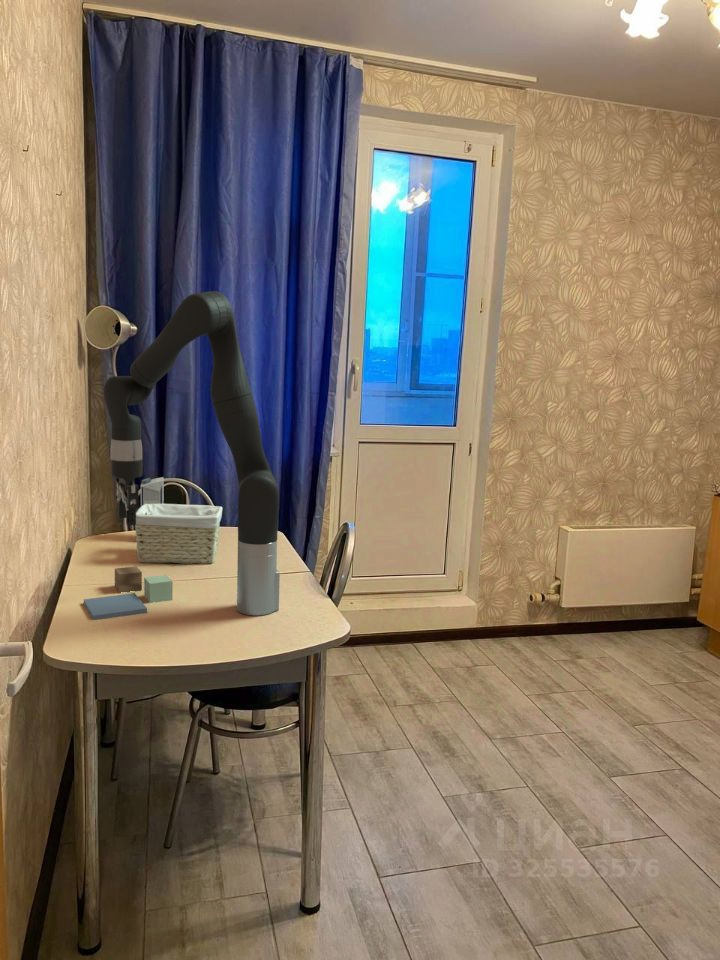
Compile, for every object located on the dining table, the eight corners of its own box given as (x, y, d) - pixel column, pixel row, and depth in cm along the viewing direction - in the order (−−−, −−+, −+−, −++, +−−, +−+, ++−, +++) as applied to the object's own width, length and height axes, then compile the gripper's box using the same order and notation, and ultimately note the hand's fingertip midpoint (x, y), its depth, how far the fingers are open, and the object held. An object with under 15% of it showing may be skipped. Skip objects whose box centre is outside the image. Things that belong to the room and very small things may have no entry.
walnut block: (136, 584, 192) (136, 566, 191) (141, 591, 187) (141, 572, 187) (114, 587, 189) (114, 568, 189) (119, 593, 185) (119, 574, 184)
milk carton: (163, 542, 234) (162, 480, 231) (141, 542, 232) (140, 480, 229) (163, 536, 241) (163, 476, 237) (142, 537, 239) (141, 476, 236)
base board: (134, 596, 182) (134, 593, 182) (147, 612, 172) (147, 608, 172) (83, 603, 177) (83, 599, 176) (93, 619, 166) (93, 615, 166)
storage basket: (223, 551, 227) (223, 504, 225) (218, 566, 211) (218, 516, 209) (143, 550, 225) (143, 502, 222) (132, 565, 209) (131, 514, 206)
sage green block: (166, 593, 186) (166, 574, 185) (172, 600, 181) (172, 581, 181) (144, 596, 183) (144, 577, 183) (149, 603, 179) (149, 583, 178)
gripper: (149, 461, 178) (149, 526, 181) (135, 453, 190) (135, 514, 193) (117, 462, 175) (117, 529, 177) (104, 453, 187) (105, 516, 189)
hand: (127, 521), depth 185 cm, fingers open, 8 cm apart
